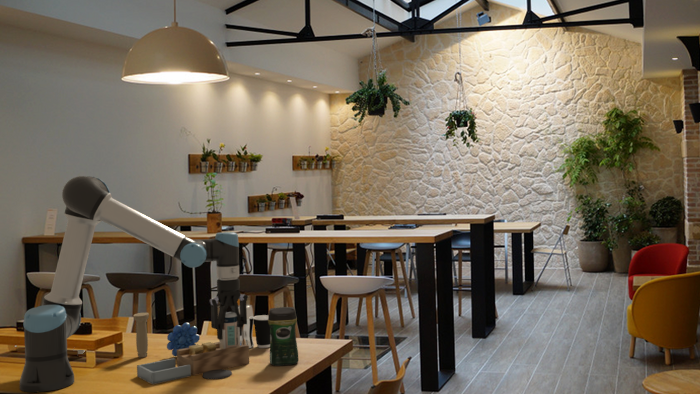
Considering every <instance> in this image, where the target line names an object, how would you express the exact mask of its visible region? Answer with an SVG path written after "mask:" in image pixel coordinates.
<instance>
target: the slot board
mask: <svg viewBox="0 0 700 394" xmlns="http://www.w3.org/2000/svg"><path fill="white" fill-rule="evenodd" d="M213 343H214V344H216V350H215V351H210V352H205V353H200V354H195V355H189V348H184V349H179V350H177V356H176V364H177V366H176V367H179V366H184V365H190V366H191V376H197V375H203V373H204V372H207V371H210V370H217V369H225V370H227V369H231V368H235V367H240V366H243V365H247V364H250V348H249V345H241V346H235V347H230V348H225V349H220V341H218V342H217V341H216V342H213ZM199 345H200V344H199ZM200 346H202V344H201V345H200Z"/></svg>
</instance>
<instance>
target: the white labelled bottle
mask: <svg viewBox="0 0 700 394" xmlns="http://www.w3.org/2000/svg"><path fill="white" fill-rule="evenodd" d="M223 329H224V330H225V344H226V348H230V347H235V346H238V339H237V315H236V313H235V312H232V311H226V315H225V320H224V326H223Z"/></svg>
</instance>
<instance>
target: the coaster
mask: <svg viewBox="0 0 700 394" xmlns="http://www.w3.org/2000/svg"><path fill="white" fill-rule="evenodd" d="M232 375H233V373H232V370H230V369H217V370H210V371H207V372H204V373H203V374H202V378H203V379H206V380H223V379H226V378H230V377H231V376H232Z"/></svg>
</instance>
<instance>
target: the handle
mask: <svg viewBox="0 0 700 394" xmlns="http://www.w3.org/2000/svg"><path fill="white" fill-rule="evenodd" d="M149 318H150V314H149V312H138V313H135V314H133V320H135V321H136V331H135V332H136V335H135V339H136V340H135V342H136V344H135V345H136V353H137V357H138V358H142V359H143V358H146V357H148V350H149V349H148V347H149V339H148V329H147V328H148V327H147V320H148V319H149Z"/></svg>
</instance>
